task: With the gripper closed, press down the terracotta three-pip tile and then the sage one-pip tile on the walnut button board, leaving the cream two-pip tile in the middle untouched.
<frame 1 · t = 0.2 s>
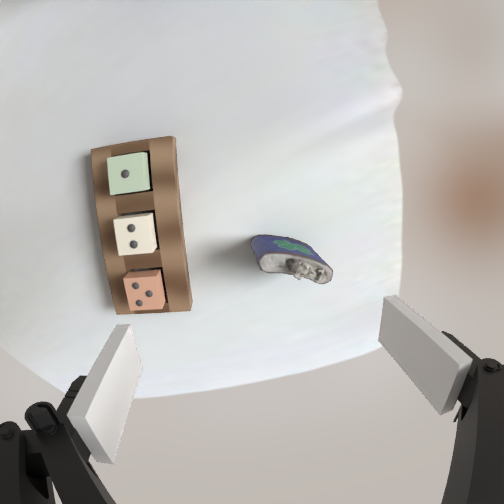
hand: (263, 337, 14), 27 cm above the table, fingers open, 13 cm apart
tile 2pip: (135, 234, 35), point 4 cm above the table, slide at 0.0 cm
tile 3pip: (144, 290, 37), point 4 cm above the table, slide at 0.0 cm
board: (143, 227, 39), on the table
tile 1pip: (128, 173, 33), point 4 cm above the table, slide at 0.0 cm
flask: (283, 246, 42), on the table
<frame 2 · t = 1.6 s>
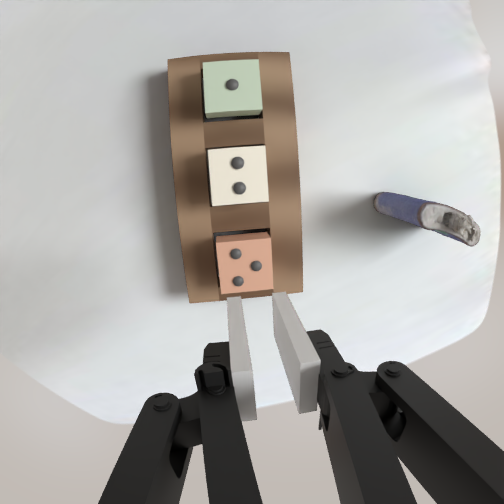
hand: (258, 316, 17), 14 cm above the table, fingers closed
tile 2pip: (237, 175, 24), point 4 cm above the table, slide at 0.0 cm
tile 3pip: (244, 262, 26), point 4 cm above the table, slide at 0.0 cm
board: (235, 174, 28), on the table
tile 1pip: (231, 88, 22), point 4 cm above the table, slide at 0.0 cm
flask: (404, 209, 31), on the table
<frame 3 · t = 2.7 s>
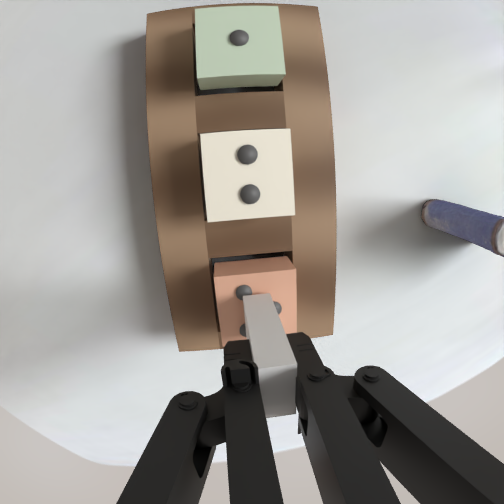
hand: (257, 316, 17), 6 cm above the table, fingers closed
tile 2pip: (246, 173, 16), point 4 cm above the table, slide at 0.0 cm
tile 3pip: (255, 301, 18), point 4 cm above the table, slide at 0.1 cm, touching gripper
board: (241, 172, 20), on the table
tile 1pip: (237, 46, 14), point 4 cm above the table, slide at 0.0 cm
flask: (453, 220, 23), on the table
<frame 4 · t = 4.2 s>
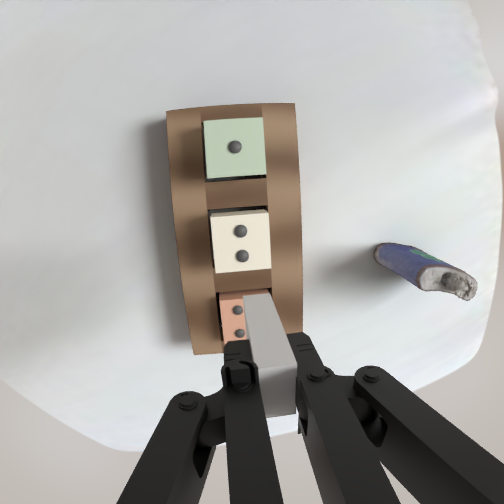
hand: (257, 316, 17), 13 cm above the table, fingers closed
tile 2pip: (240, 240, 25), point 4 cm above the table, slide at 0.0 cm
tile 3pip: (245, 315, 28), point 3 cm above the table, slide at 1.4 cm
board: (237, 230, 29), on the table
tile 1pip: (234, 148, 23), point 4 cm above the table, slide at 0.0 cm
flask: (404, 257, 32), on the table
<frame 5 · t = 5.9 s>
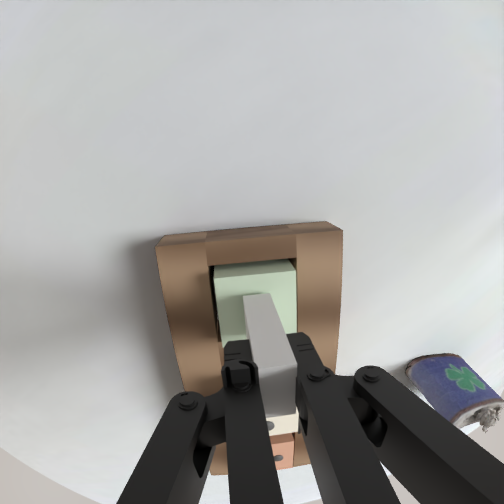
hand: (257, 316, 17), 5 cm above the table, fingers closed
tile 2pip: (264, 404, 19), point 4 cm above the table, slide at 0.0 cm
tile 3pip: (265, 449, 22), point 3 cm above the table, slide at 1.4 cm
board: (257, 368, 23), on the table
tile 1pip: (255, 302, 18), point 3 cm above the table, slide at 1.3 cm, touching gripper
flask: (435, 363, 26), on the table
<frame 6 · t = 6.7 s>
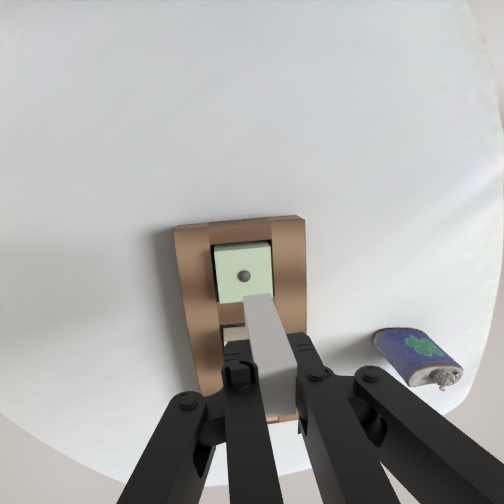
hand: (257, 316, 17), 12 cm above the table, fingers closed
tile 2pip: (251, 353, 26), point 4 cm above the table, slide at 0.0 cm
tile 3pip: (254, 401, 30), point 3 cm above the table, slide at 1.4 cm
board: (247, 331, 31), on the table
tile 1pip: (243, 271, 26), point 3 cm above the table, slide at 1.4 cm
flask: (400, 336, 33), on the table
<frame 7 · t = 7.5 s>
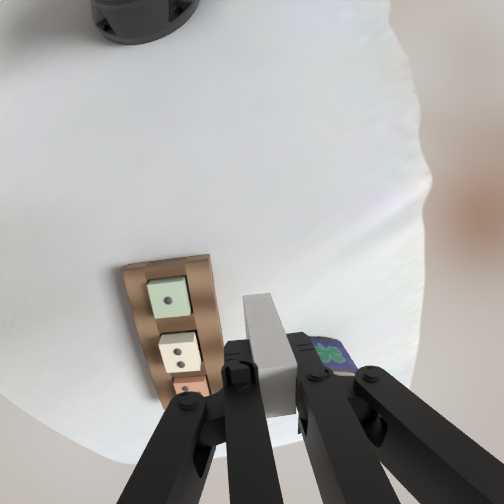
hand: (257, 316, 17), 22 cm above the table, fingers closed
tile 2pip: (180, 353, 37), point 4 cm above the table, slide at 0.0 cm
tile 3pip: (192, 389, 40), point 3 cm above the table, slide at 1.4 cm
board: (183, 336, 41), on the table
tile 1pip: (169, 296, 36), point 3 cm above the table, slide at 1.4 cm
flask: (315, 343, 44), on the table
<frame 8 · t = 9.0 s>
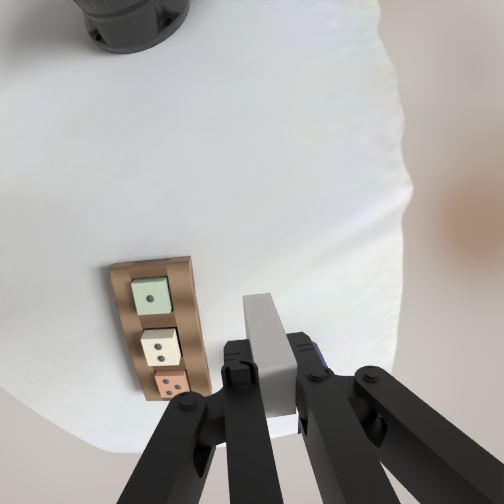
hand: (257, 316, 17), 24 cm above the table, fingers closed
tile 2pip: (161, 347, 39), point 4 cm above the table, slide at 0.0 cm
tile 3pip: (173, 382, 42), point 3 cm above the table, slide at 1.4 cm
board: (165, 332, 43), on the table
tile 1pip: (152, 295, 38), point 3 cm above the table, slide at 1.4 cm
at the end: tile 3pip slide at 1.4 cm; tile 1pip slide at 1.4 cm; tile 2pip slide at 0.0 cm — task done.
